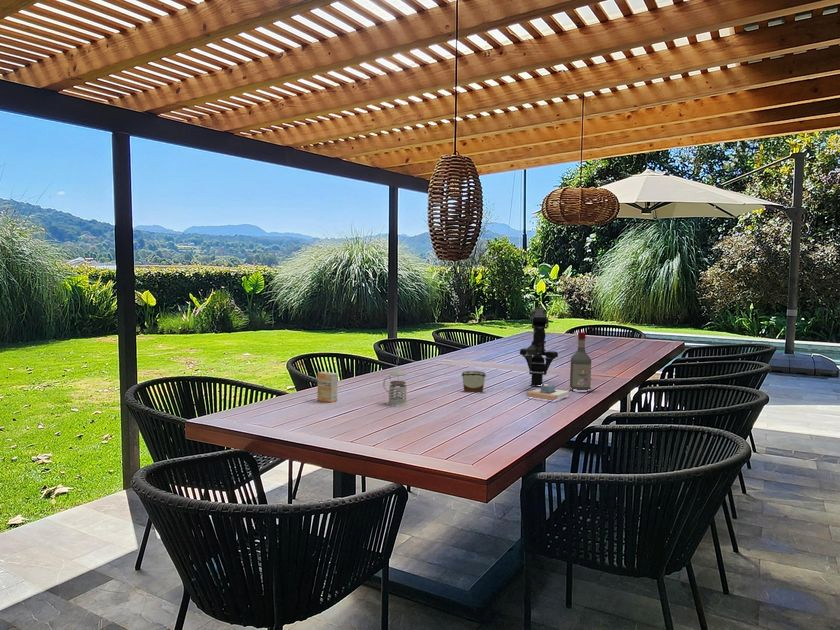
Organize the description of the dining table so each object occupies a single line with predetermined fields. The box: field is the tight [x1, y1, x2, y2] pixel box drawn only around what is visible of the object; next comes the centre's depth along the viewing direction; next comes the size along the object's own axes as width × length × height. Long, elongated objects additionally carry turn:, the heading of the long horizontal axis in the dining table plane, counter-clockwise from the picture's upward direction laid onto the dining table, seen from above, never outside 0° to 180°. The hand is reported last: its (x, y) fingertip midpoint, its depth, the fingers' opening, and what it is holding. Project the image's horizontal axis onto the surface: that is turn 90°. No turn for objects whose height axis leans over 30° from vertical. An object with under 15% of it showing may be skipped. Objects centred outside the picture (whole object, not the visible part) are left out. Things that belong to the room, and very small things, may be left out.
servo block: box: [540, 383, 555, 394], centre depth 283 cm, size 9×4×6 cm, turn 140°
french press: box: [382, 348, 409, 406], centre depth 266 cm, size 10×12×25 cm
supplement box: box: [316, 370, 339, 404], centre depth 269 cm, size 8×5×13 cm, turn 62°
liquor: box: [569, 331, 592, 390], centre depth 300 cm, size 9×9×30 cm
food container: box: [460, 370, 487, 393], centre depth 296 cm, size 12×6×10 cm, turn 84°
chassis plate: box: [526, 387, 570, 400], centre depth 283 cm, size 16×14×3 cm
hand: (538, 370), depth 297 cm, fingers open, 9 cm apart
